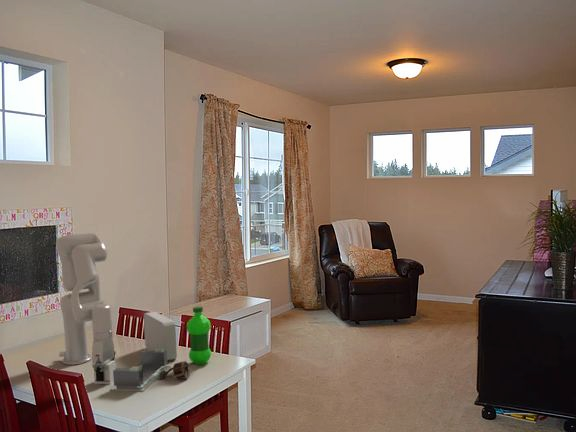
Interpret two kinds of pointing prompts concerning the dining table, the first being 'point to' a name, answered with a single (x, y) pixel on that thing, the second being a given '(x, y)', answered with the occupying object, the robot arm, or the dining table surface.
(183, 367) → the brown antique clock
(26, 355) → the dining table surface
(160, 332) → the rounded white slab
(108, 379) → the block
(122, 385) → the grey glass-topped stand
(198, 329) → the plastic bottle
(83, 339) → the robot arm
